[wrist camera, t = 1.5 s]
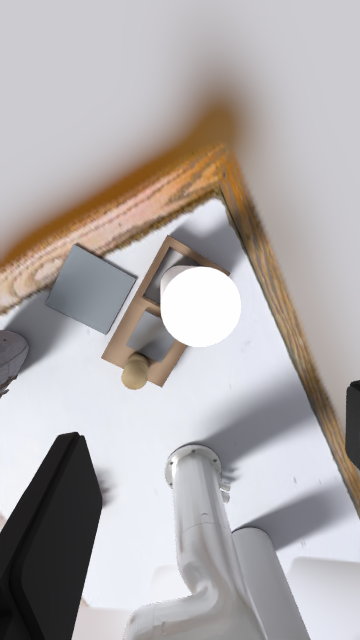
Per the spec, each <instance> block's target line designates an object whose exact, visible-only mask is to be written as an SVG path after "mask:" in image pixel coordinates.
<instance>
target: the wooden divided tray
mask: <svg viewBox="0 0 360 640" xmlns="http://www.w3.org/2000/svg"><path fill="white" fill-rule="evenodd" d="M169 247H170V248H172V249H174V250H175V251H177V252H179V253H180V254H182V255H184V256H185V257H187V258H189V259H190V260H192V261H194V262H195V263H197V264H199V265H200V266H202V267H210V268H213V269H217V270H219V271H221V272H222V273H224V274H225V275H227V276H228V277H229V275H230V273H229V272H228V271H226V270H224V269H223V268H221V267H219V266H218V265H216V264H215V263H213V262H211V261H210V260H208V259H206V258H205V257H203V256H201V255H200V254H198V253H197V252H195V251H193V250H192V249H190V248H188V247H187V246H185V245H183V244H182V243H180V242H179V241H177V240H175V239H174V238H172V237H170V236H169V235H167V237H166V239H165V240H164V242H163V244H162V246H161V248H160V250H159V251H158V253H157V255H156V257H155V259H154V261H153V263H152V264H151V266H150V268H149V270H148V272H147V274H146V275H145V277H144V279H143V281H142V283H141V285H140V287H139V288H138V290H137V292H136V294H135V296H134V298H133V300H132V301H131V303H130V305H129V307H128V309H127V311H126V312H125V314H124V316H123V318H122V320H121V322H120V324H119V325H118V327H117V329H116V331H115V333H114V335H113V337H112V338H111V340H110V342H109V344H108V346H107V348H106V349H105V351H104V353H103V355H102V357H101V358H102V359H104V360H106V361H108V362H110V363H112V364H115V365H117V366H119V367H121V368H123V369H124V370H123V373H122V382H123V384H124V385H125V386H126V387H127V388H129V389H133V390H136V389H140V388H142V387H143V386H144V385H145V384H146V382H147V380H148V381H150V382H152V383H154V384H156V385H158V386H160V387H162V386H163V385H164V383H165V381H166V380H167V378H168V376H169V375H170V373H171V371H172V370H173V368H174V366H175V365H176V363H177V361H178V360H179V358H180V356H181V355H182V353H183V351H184V350H185V348H186V347H187V345H186V344H184V343H182V342H180V341H178V340H177V339H175V338H174V337H173V336H172V335H171V334H170V333H169V332H168V330H167V328H166V327H165V325H164V323H163V319H162V316H161V305H160V304H158V303H157V302H155V301H153V300H151V299H149V298H148V297H146V296H144V295H143V294H144V293H145V291H146V289H147V287H148V285H149V283H150V282H151V280H152V278H153V276H154V274H155V272H156V271H157V269H158V267H159V265H160V263H161V261H162V260H163V258H164V256H165V254H166V252H167V250H168V249H169Z"/></svg>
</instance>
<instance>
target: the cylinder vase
mask: <svg viewBox="0 0 360 640" xmlns="http://www.w3.org/2000/svg"><path fill="white" fill-rule="evenodd" d="M232 536H233V540H234V544H235V547H236V551H237V555H238V558H239V562H240V565H241V568H242V571H243V575H244V578H245V581H246V583H247V586H248V589H249V592H250V594H251V597H252V599H253V602H254V604H255V607H256V609H257V612H258V614H259V617H260V619H261V622H262V624H263V627H264V630H265V633H266V635H267V638H268V640H310V637H309V635H308V632H307V630H306V627H305V625H304V622H303V620H302V617H301V615H300V612H299V610H298V607H297V605H296V602H295V600H294V597H293V595H292V592H291V590H290V587H289V585H288V582H287V580H286V577H285V575H284V572H283V570H282V567H281V565H280V562H279V560H278V557H277V555H276V552H275V550H274V547H273V545H272V542H271V540H270V538H269V536H268V535H267V534H266V533H265V532H264V531H262V530H260V529H257V528H251V527H249V528H242V529H239V530H237V531H235V532H233V533H232Z"/></svg>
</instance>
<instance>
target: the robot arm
mask: <svg viewBox="0 0 360 640" xmlns="http://www.w3.org/2000/svg"><path fill="white" fill-rule="evenodd" d="M346 399H347V400H346V443H345V449H346V454H347V456H348V458H349V459H350V460H351V462H352V463H353V464H354V465H355V466H356V467H357V468H358V469H359V470H360V380H359V381H353V382H351V384H350V387H348V388H347V395H346ZM220 475H221V464H220V461H219V458H218V456H217V455H216V453H215V452H214V451H212V450H211V449H210V448H207V447H205V446H201V445H188V446H184V447H182V448H180V449H178V450H176V451H175V452H174V453H173V454H172V455H171V456H170V457H169V458H168V460H167V462H166V465H165V479H166V482H167V484H168V485H169V486H170V487H171V488H172V489H173V503H174V521H175V540H176V558H177V565H178V568H179V572H180V574H181V577H182V579H183V581H184V583H185V584H186V586H187V587H188V589H189V590H190V592H191V593H192V595H191V596H188V597H184V598H179V599H174V600H168V601H163V602H157V603H154V604H149V605H145V606H142V607H140V608H138V609H137V610H135V611H134V612H133V613H132V615H131V616H130V618H129V619H128V621H127V624H126V627H125V631H124V635H123V640H268V638H267V635H266V633H265V630H264V627H263V624H262V622H261V619H260V617H259V614H258V612H257V609H256V607H255V604H254V602H253V599H252V597H251V594H250V592H249V589H248V586H247V583H246V581H245V578H244V575H243V571H242V568H241V565H240V562H239V558H238V555H237V551H236V547H235V544H234V540H233V536H232V533H231V529H230V525H229V521H228V518H227V514H226V510H225V506H224V503H228V502H229V499H230V496H229V493H226V492H224V491H220V488H222V489H224V490H226V491H230V484H228V483H225V482H222V480H221V478H220ZM223 502H224V503H223ZM101 510H102V495H101V492H100V488H99V485H98V481H97V478H96V475H95V471H94V468H93V464H92V461H91V457H90V454H89V450H88V447H87V444H86V440H85V437H84V436H83V435H81V436H80V435H79V433H78V432H72V433H66V434H61V435H58V437H57V438H56V440H55V441H54V443H53V445H52V446H51V448H50V450H49V452H48V453H47V455H46V457H45V458H44V460H43V462H42V464H41V465H40V467H39V469H38V470H37V472H36V474H35V476H34V477H33V479H32V481H31V482H30V484H29V486H28V488H27V489H26V490H25V492H24V493H23V495H22V497H21V498H20V500H19V502H18V503H17V505H16V507H15V509H14V510H13V512H12V514H11V515H10V517H9V519H8V520H7V522H6V524H5V526H4V527H3V529H2V531H1V532H0V640H71V638H72V634H73V630H74V626H75V621H76V617H77V613H78V609H79V605H80V600H81V596H82V592H83V587H84V583H85V579H86V575H87V570H88V566H89V562H90V558H91V553H92V549H93V545H94V540H95V536H96V532H97V528H98V523H99V519H100V515H101Z"/></svg>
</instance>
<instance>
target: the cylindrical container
mask: <svg viewBox="0 0 360 640" xmlns="http://www.w3.org/2000/svg"><path fill="white" fill-rule="evenodd" d="M160 291H161V316H162V319H163V323H164V325H165V327H166V328H167V330H168V332H169V333H170V334H171V335H172V336H173V337H174V338H175V339H177V340H178V341H180V342H182V343H184V344H186V345H190V346H194V347H204V346H210V345H213V344H216V343H218V342H220V341H221V340H223V339H224V338H225V337H227V336H228V335H229V334H230V333H231V332H232V330H233V329H234V328H235V326H236V324H237V322H238V319H239V317H240V312H241V299H240V295H239V292H238V290H237V287H236V285H235V284H234V283H233V281H232V280H231V279H230V278H229V277H228V276H227V275H225V274H224V273H222V272H221V271H219V270H217V269H213V268H210V267H198V266H181V265H179V266H174V267H171V268H169V269H168V270H167V271H166V272H165V273H164V274H163V276H162V279H161V284H160Z"/></svg>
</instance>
